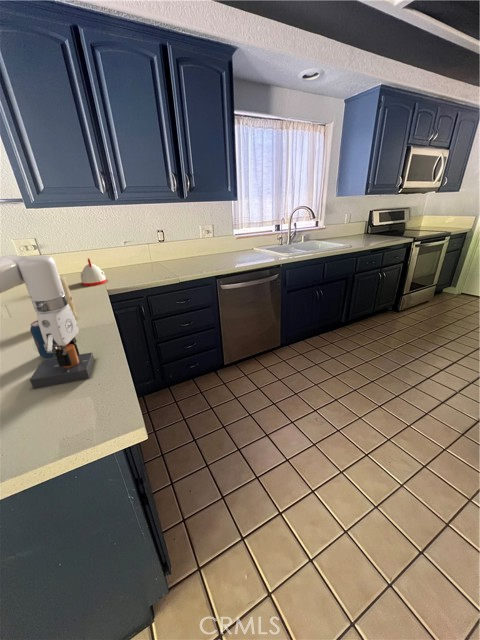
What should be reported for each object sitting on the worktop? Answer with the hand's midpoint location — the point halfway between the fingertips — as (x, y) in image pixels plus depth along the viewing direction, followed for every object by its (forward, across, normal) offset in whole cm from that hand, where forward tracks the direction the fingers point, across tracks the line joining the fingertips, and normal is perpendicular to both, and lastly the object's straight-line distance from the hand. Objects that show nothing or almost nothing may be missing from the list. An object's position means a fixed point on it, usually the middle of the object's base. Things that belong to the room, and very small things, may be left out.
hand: (69, 360), depth 78 cm
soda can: (+4, +12, +12) cm, 17 cm away
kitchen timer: (+4, +101, +29) cm, 105 cm away
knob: (+1, 0, 0) cm, 1 cm away
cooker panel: (+4, 0, +2) cm, 5 cm away
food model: (+4, +41, +20) cm, 46 cm away
